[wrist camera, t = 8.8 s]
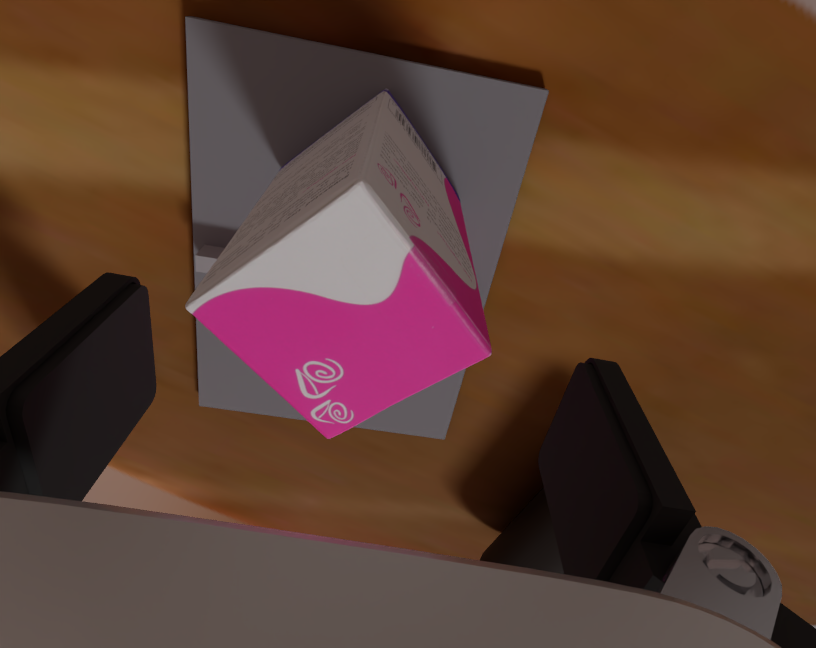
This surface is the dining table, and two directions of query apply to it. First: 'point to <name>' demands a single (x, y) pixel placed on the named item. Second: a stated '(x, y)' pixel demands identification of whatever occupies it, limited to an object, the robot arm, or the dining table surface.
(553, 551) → the end cap
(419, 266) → the supplement box
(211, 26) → the mat
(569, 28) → the dining table surface
